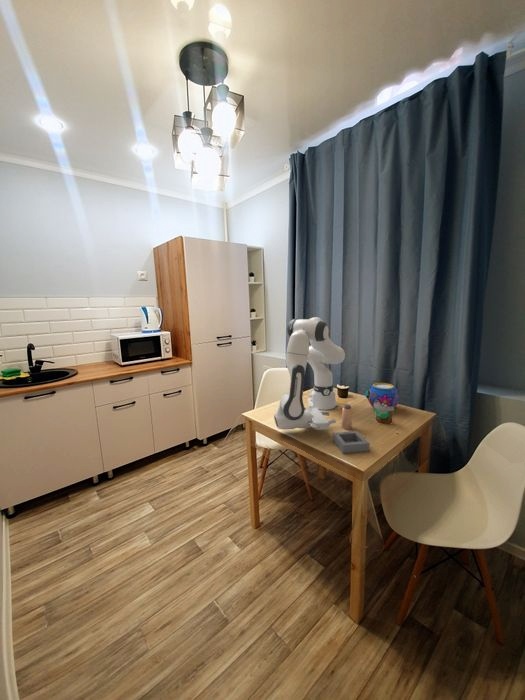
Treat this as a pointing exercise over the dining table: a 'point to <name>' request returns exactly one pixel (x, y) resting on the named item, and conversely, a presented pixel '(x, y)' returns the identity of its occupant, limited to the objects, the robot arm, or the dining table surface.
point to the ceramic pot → (383, 394)
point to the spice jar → (347, 417)
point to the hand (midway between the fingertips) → (331, 417)
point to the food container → (383, 412)
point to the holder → (350, 442)
